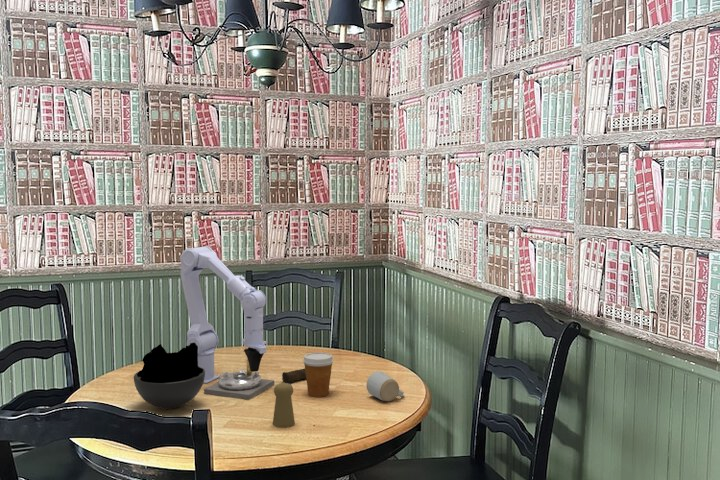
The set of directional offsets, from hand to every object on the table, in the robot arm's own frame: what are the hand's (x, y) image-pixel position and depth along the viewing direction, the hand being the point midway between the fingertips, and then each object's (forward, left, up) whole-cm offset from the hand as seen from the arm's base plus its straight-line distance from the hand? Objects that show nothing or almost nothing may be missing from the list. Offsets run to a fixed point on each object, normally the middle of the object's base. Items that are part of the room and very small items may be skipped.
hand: (254, 371), depth 214 cm
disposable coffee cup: (+22, +1, -5) cm, 23 cm away
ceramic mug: (+43, +5, -6) cm, 44 cm away
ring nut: (-3, -4, -3) cm, 6 cm away
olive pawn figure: (+24, -26, -5) cm, 35 cm away
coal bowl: (-13, -26, -5) cm, 29 cm away
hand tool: (+11, +16, -6) cm, 20 cm away
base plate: (-3, -4, -5) cm, 7 cm away
